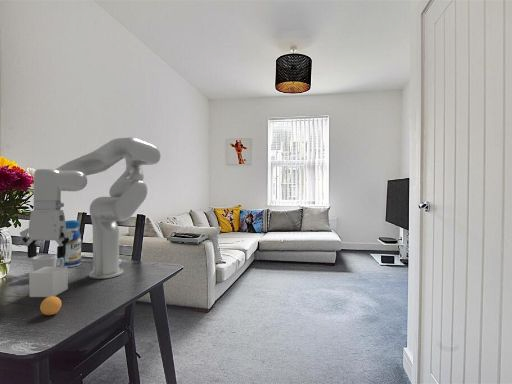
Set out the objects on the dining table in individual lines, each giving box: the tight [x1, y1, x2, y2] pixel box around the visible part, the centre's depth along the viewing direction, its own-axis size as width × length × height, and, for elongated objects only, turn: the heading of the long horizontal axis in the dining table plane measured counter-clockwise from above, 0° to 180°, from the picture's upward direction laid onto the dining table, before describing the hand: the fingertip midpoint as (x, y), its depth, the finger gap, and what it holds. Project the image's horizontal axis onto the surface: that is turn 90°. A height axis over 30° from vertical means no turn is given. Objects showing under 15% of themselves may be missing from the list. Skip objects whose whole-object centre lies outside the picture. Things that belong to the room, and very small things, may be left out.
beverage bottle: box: [59, 219, 82, 268], centre depth 138 cm, size 8×8×20 cm
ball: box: [39, 296, 62, 316], centre depth 86 cm, size 5×5×5 cm
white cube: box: [28, 267, 69, 298], centre depth 103 cm, size 8×8×8 cm
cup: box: [31, 254, 64, 272], centre depth 122 cm, size 11×8×8 cm
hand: (46, 257), depth 102 cm, fingers open, 9 cm apart
